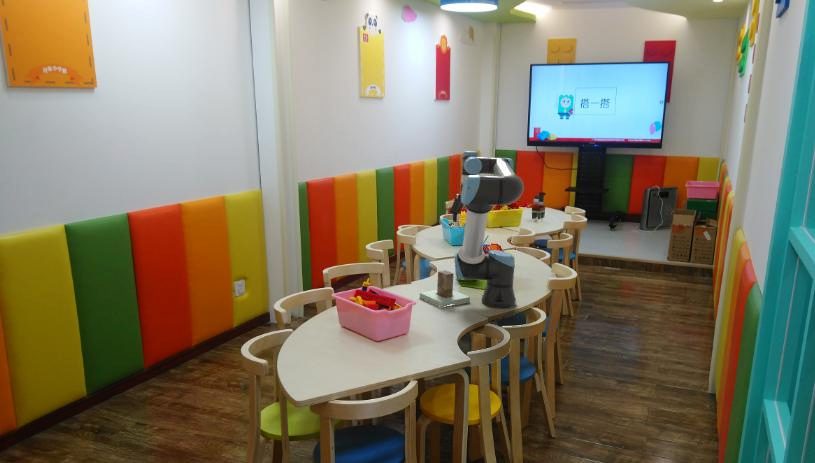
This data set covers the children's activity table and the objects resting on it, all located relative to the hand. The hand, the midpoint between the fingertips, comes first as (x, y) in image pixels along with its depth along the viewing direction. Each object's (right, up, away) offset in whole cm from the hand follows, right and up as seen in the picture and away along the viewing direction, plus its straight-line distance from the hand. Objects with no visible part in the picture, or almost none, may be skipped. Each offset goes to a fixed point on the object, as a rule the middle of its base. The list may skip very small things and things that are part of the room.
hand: (466, 227), depth 279 cm
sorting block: (-12, -33, -20) cm, 40 cm away
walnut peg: (-12, -33, -20) cm, 40 cm away
